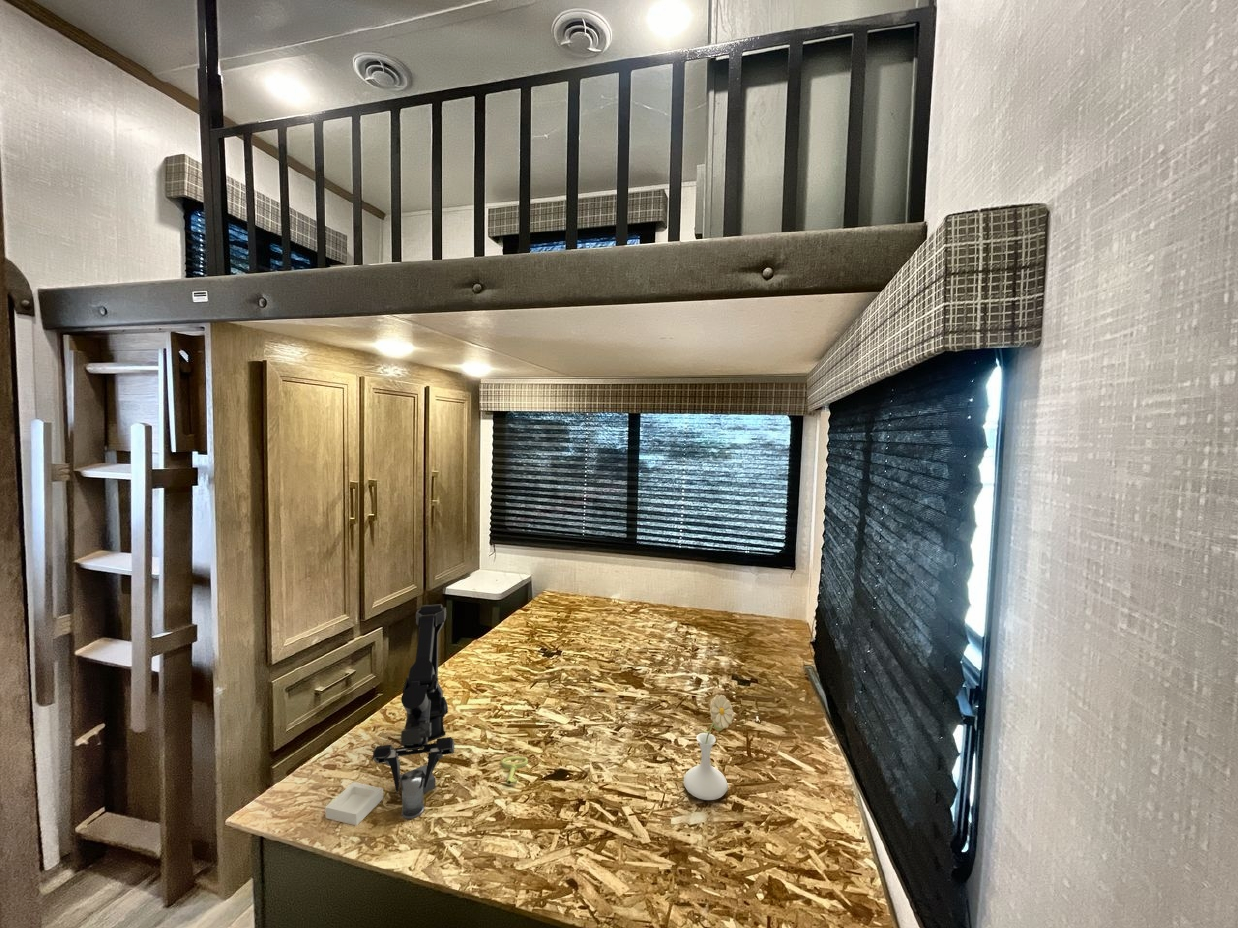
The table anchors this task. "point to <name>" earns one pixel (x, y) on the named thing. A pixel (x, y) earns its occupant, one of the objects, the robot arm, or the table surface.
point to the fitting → (412, 794)
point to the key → (513, 767)
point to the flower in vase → (704, 777)
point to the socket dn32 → (431, 782)
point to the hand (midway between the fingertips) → (411, 789)
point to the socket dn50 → (354, 803)
